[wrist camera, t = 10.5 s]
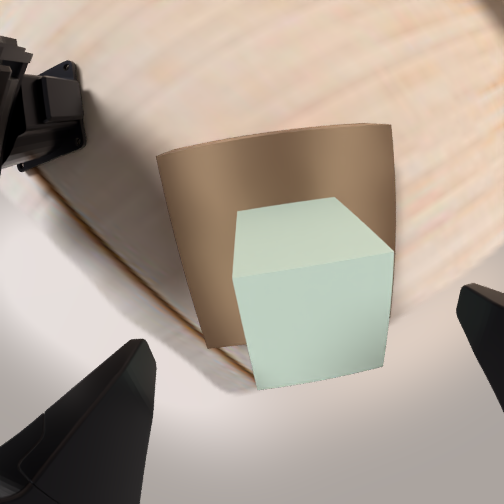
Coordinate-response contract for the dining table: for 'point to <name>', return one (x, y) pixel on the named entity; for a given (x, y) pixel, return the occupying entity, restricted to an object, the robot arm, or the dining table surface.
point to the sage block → (311, 292)
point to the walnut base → (268, 200)
